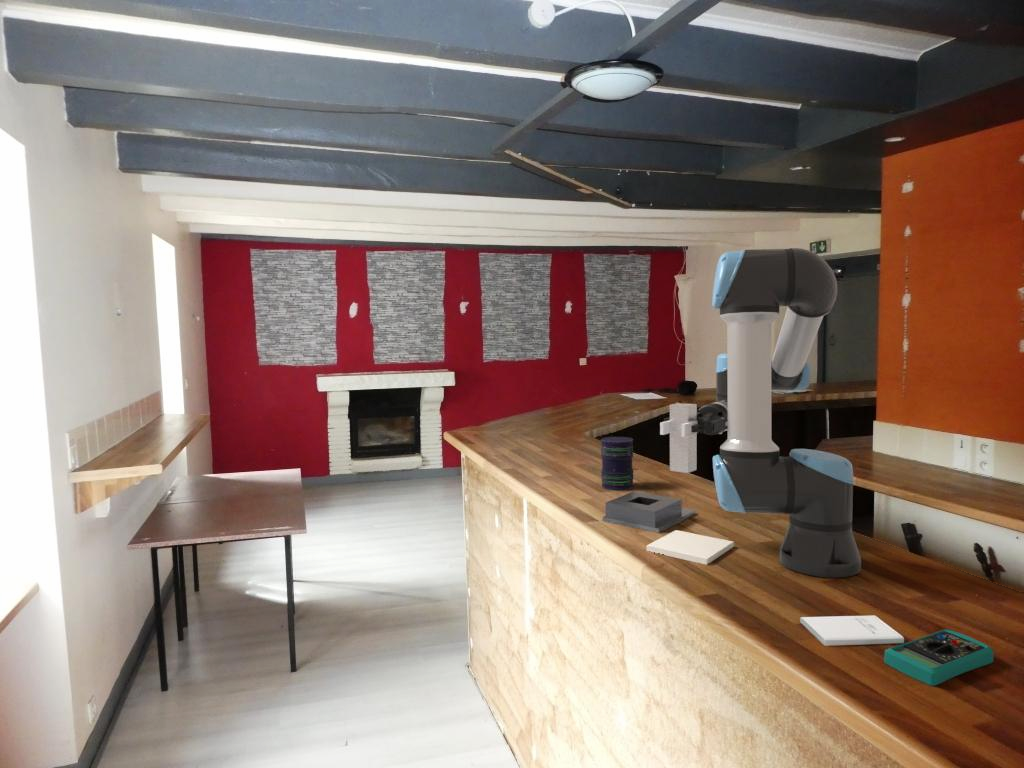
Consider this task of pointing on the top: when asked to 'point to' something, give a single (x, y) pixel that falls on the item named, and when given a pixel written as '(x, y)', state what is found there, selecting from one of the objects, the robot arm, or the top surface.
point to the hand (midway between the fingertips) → (672, 429)
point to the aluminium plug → (682, 438)
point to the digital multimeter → (938, 656)
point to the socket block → (646, 511)
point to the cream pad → (690, 546)
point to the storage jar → (617, 463)
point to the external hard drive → (851, 630)
